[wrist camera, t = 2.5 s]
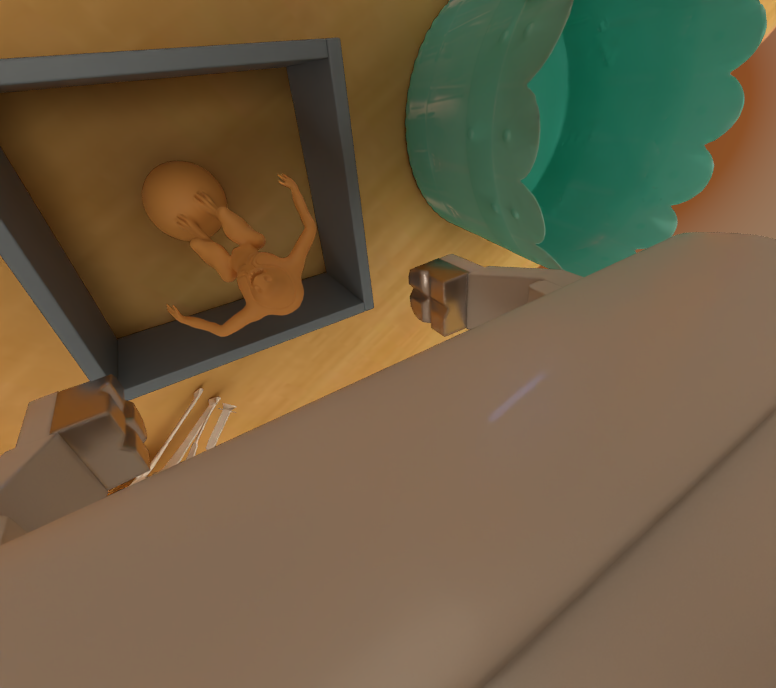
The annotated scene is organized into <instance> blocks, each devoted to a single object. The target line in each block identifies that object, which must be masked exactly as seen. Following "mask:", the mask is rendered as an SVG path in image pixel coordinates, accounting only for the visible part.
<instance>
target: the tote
mask: <svg viewBox="0 0 776 688" xmlns="http://www.w3.org/2000/svg"><path fill="white" fill-rule="evenodd" d="M282 67H286V68H287V74H288V79H289V84H290V89H291V94H292V99H293V104H294V109H295V114H296V119H297V124H298V129H299V134H300V140H301V145H302V150H303V155H304V160H305V165H306V170H307V175H308V180H309V185H310V190H311V195H312V201H313V206H314V211H315V216H316V221H317V226H318V231H319V236H320V241H321V246H322V251H323V256H324V262H325V267H326V272H327V273H323V274H320V275H317V276H314V277H310V278H307V279H304V280H301V281H302V285H303V289H304V296H303V300H302V303H301V305H300V306H299V308H298V309H296V310H295V311H294V312H292V313H290V314H287V315H267V316H265V317H263V318H262V319H260V320H257V321H254V322H251V323H249V324H247V325H246V326H244V327H243V328H241V329H240V330H238V331H236V332H234V333H233V334H231V335H228V336H225V337H221V336H217V335H215V334H213V333H211V332H209V331H206V330H202V329H198V328H194V327H191V326H189V325H187V324H183V323H180V322H179V321H178V320H176V321H172V322H169V323H166V324H163V325H160V326H157V327H154V328H151V329H147V330H144V331H141V332H138V333H135V334H132V335H129V336H125V337H122V338H119V339H118V340H117V338H116V337H115V335H114V333H113V332H112V330H111V328H110V327H109V325H108V323H107V322H106V320H105V318H104V317H103V315H102V314H101V312H100V310H99V309H98V307H97V305H96V304H95V302H94V300H93V299H92V297H91V295H90V294H89V292H88V290H87V289H86V287H85V286H84V284H83V282H82V281H81V279H80V277H79V276H78V274H77V272H76V271H75V269H74V267H73V266H72V264H71V262H70V261H69V259H68V258H67V256H66V254H65V253H64V251H63V249H62V248H61V246H60V244H59V243H58V241H57V239H56V238H55V236H54V234H53V233H52V231H51V230H50V228H49V226H48V225H47V223H46V221H45V220H44V218H43V216H42V215H41V213H40V211H39V210H38V208H37V206H36V205H35V203H34V202H33V200H32V198H31V197H30V195H29V193H28V192H27V190H26V188H25V187H24V185H23V183H22V182H21V180H20V178H19V177H18V175H17V174H16V172H15V170H14V169H13V167H12V165H11V164H10V162H9V160H8V159H7V157H6V155H5V154H4V152H3V150H2V149H1V147H0V255H1V257H2V258H3V260H4V261H5V262H6V264H7V265H8V267H9V268H10V269H11V271H12V272H13V274H14V275H15V276H16V278H17V279H18V281H19V282H20V283H21V285H22V286H23V288H24V289H25V290H26V292H27V293H28V295H29V296H30V297H31V299H32V300H33V302H34V303H35V304H36V306H37V307H38V309H39V310H40V312H41V313H42V314H43V316H44V317H45V319H46V320H47V321H48V323H49V324H50V326H51V327H52V328H53V330H54V331H55V333H56V334H57V335H58V337H59V338H60V340H61V341H62V342H63V344H64V345H65V347H66V348H67V349H68V351H69V352H70V354H71V355H72V356H73V358H74V359H75V361H76V362H77V363H78V365H79V366H80V368H81V369H82V371H83V372H84V373H85V375H86V376H87V378H88V379H89V380H90V381H92V380H95V379H98V378H101V377H104V376H107V375H110V374H112V375H114V376H115V377H116V378H117V379H118V381H119V382H120V384H121V385H122V387H123V388H124V400H127V401H129V400H132V399H134V398H137V397H139V396H142V395H145V394H147V393H150V392H153V391H155V390H158V389H161V388H163V387H166V386H169V385H171V384H174V383H177V382H179V381H182V380H185V379H187V378H190V377H192V376H195V375H198V374H200V373H203V372H206V371H208V370H211V369H214V368H216V367H219V366H222V365H224V364H227V363H230V362H232V361H235V360H238V359H240V358H243V357H245V356H248V355H251V354H253V353H256V352H259V351H261V350H264V349H267V348H269V347H272V346H275V345H277V344H280V343H283V342H285V341H288V340H290V339H293V338H296V337H298V336H301V335H304V334H306V333H309V332H312V331H314V330H317V329H320V328H322V327H325V326H328V325H330V324H333V323H336V322H338V321H341V320H343V319H346V318H349V317H351V316H354V315H357V314H359V313H362V312H364V311H367V310H370V309H372V308H374V303H373V296H372V288H371V280H370V272H369V264H368V256H367V248H366V240H365V232H364V224H363V216H362V209H361V201H360V193H359V185H358V177H357V169H356V161H355V153H354V145H353V137H352V129H351V122H350V114H349V106H348V98H347V90H346V82H345V74H344V66H343V58H342V50H341V42H340V38H326V39H324V38H323V39H307V40H292V41H276V42H260V43H244V44H228V45H212V46H197V47H181V48H165V49H149V50H133V51H117V52H102V53H86V54H70V55H54V56H38V57H23V58H7V59H0V93H6V92H17V91H28V90H39V89H50V88H61V87H72V86H83V85H94V84H105V83H116V82H127V81H138V80H149V79H160V78H171V77H182V76H193V75H204V74H215V73H226V72H237V71H248V70H259V69H270V68H282ZM245 305H246V301H245V299H241V300H238V301H235V302H232V303H229V304H226V305H223V306H220V307H216V308H213V309H210V310H207V311H204V312H201V313H198V314H194V315H191V316H188V317H197V318H201V319H204V320H206V321H209V322H214V323H217V324H219V325H223V324H224V323H225V322H226V321H228V320H229V319H230V318H231V317H233V316H234V315H235V314H236V313H238V312H239V311H241V310H242V309H243V308H244V307H245Z"/></svg>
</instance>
